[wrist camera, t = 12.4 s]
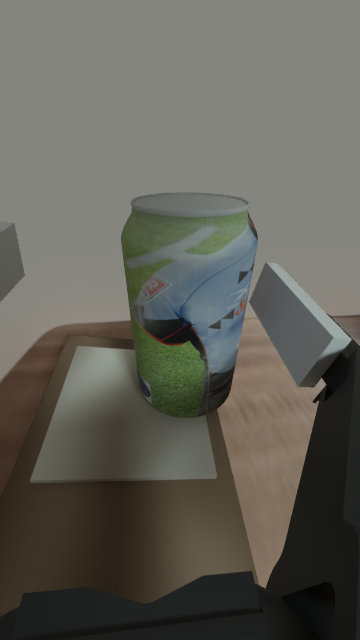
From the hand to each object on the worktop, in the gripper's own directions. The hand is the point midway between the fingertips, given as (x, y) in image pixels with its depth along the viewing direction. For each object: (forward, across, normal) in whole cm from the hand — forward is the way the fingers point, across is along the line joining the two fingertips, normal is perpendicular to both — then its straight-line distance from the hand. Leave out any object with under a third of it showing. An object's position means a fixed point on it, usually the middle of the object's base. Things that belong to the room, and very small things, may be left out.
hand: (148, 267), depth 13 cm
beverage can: (-2, +2, -8) cm, 8 cm away
